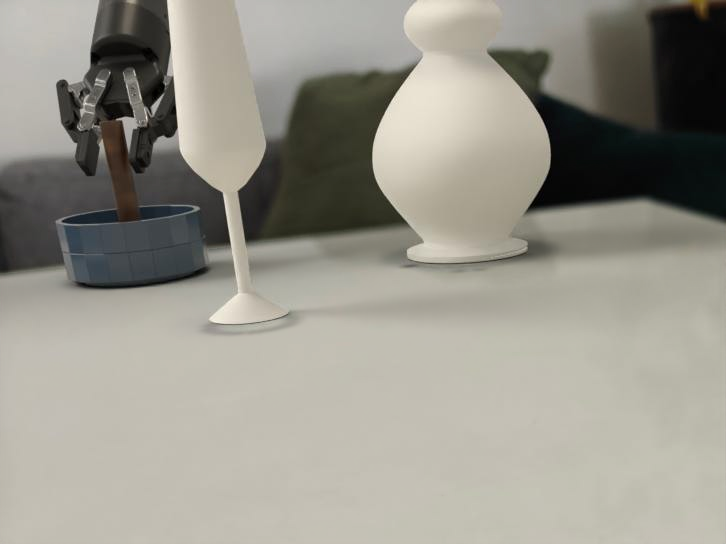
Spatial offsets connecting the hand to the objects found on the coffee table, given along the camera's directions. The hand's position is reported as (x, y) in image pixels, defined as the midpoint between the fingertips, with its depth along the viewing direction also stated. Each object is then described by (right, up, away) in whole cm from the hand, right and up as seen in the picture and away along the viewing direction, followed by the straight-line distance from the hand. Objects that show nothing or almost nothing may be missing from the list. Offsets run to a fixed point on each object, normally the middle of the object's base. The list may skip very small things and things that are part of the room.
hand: (111, 168), depth 110 cm
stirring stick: (+1, -8, +6) cm, 10 cm away
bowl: (+1, -8, +6) cm, 11 cm away
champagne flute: (+17, -19, -16) cm, 30 cm away
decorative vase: (+35, -6, +7) cm, 36 cm away
